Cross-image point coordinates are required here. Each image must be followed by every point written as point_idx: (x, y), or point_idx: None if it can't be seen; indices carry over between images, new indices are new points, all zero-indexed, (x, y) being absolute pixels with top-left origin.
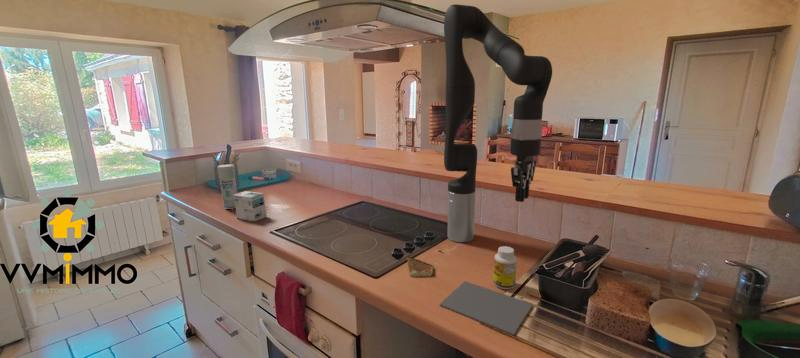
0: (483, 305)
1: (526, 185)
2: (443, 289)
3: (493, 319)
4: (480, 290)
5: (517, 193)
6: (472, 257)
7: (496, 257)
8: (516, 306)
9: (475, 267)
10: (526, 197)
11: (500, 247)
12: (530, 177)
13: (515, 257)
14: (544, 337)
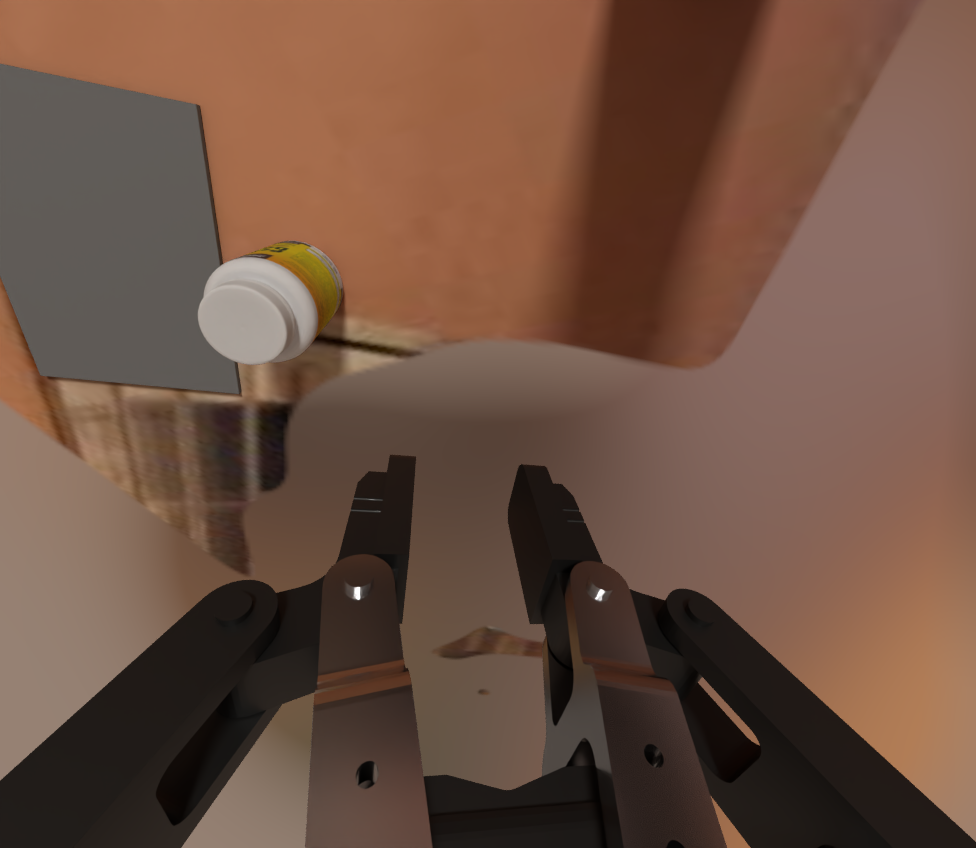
0: (91, 249)
1: (541, 607)
2: (50, 4)
3: (48, 305)
4: (178, 206)
5: (349, 530)
6: (465, 60)
7: (215, 275)
8: (184, 354)
9: (369, 115)
10: (508, 514)
11: (244, 294)
12: (543, 756)
13: (279, 358)
14: (118, 438)
